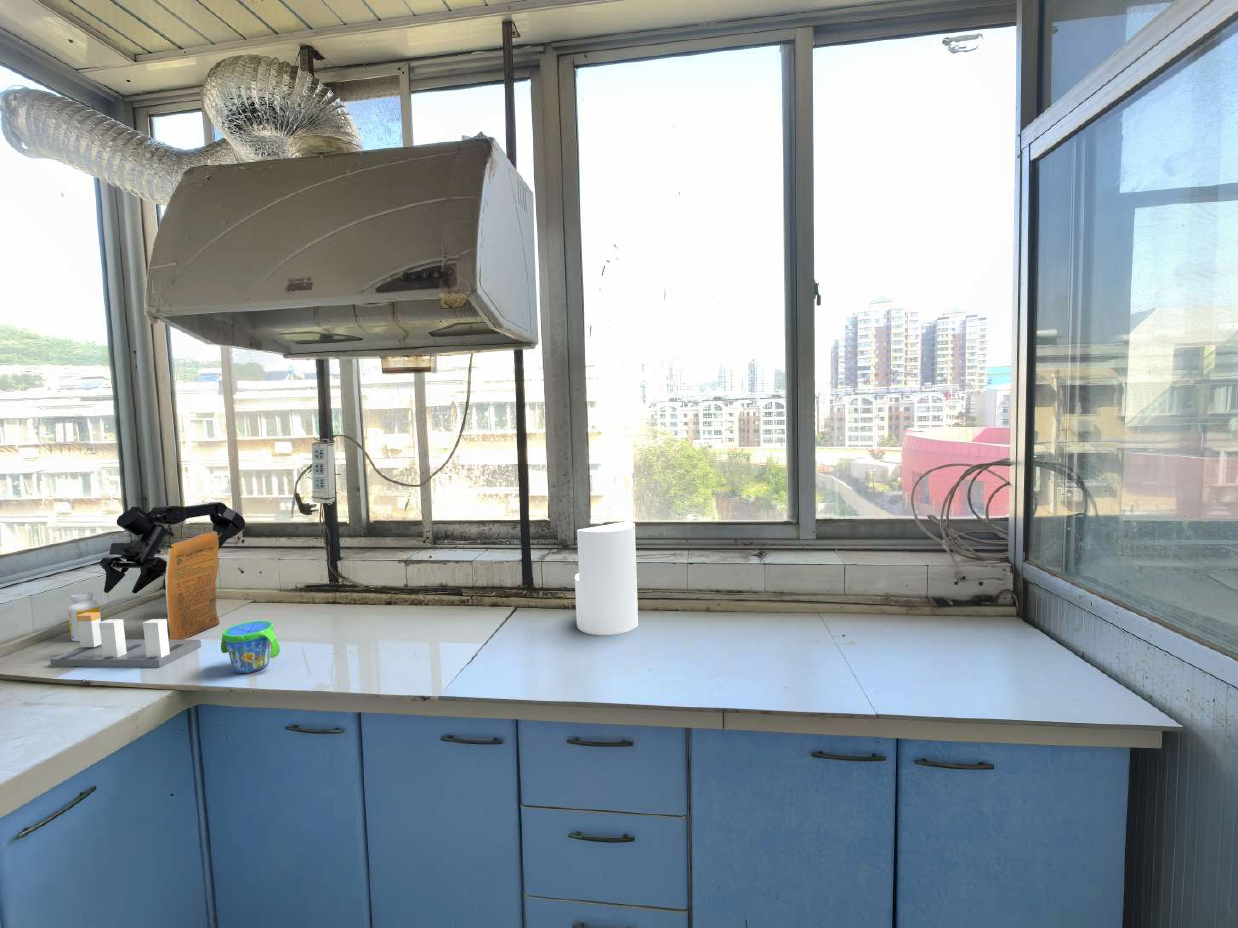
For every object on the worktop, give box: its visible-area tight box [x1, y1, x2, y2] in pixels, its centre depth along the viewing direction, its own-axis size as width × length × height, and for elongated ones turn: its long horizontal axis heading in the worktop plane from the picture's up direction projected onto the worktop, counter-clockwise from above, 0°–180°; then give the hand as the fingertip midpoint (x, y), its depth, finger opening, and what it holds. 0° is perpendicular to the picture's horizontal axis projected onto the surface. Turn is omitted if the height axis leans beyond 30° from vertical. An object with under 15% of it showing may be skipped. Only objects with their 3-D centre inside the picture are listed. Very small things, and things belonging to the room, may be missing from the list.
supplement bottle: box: [67, 591, 100, 642], centre depth 171 cm, size 7×7×13 cm
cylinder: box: [574, 520, 639, 636], centre depth 166 cm, size 17×17×28 cm
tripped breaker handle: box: [77, 611, 102, 647], centre depth 158 cm, size 3×4×8 cm, turn 84°
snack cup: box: [220, 620, 281, 674], centre depth 145 cm, size 16×10×10 cm
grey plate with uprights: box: [49, 618, 202, 669], centre depth 156 cm, size 13×30×11 cm, turn 85°
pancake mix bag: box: [164, 531, 220, 640], centre depth 172 cm, size 7×19×28 cm, turn 170°
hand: (119, 592), depth 168 cm, fingers open, 9 cm apart
